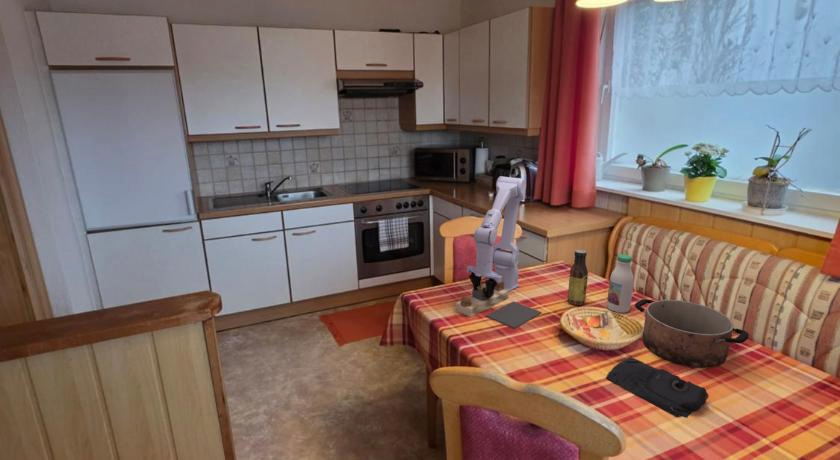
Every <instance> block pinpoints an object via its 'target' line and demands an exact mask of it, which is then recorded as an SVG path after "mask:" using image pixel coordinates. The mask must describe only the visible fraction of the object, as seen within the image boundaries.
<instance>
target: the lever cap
mask: <svg viewBox="0 0 840 460" xmlns="http://www.w3.org/2000/svg"><path fill="white" fill-rule="evenodd" d="M471 292H472V294H471V296H472V297H474V298H476V299H479V300H481V301H482V300H485V299H487V289H486V284H485V282H484V283H482V284H480V286H477V288H474V287H473V288H472V291H471ZM493 295H494V291H493V294H492V296H493Z"/></svg>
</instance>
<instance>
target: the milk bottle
mask: <svg viewBox="0 0 840 460" xmlns="http://www.w3.org/2000/svg"><path fill="white" fill-rule="evenodd" d="M632 260H633V257H632V256H631V255H629V254H624V253H623V254H621V253H619V254H618V255H617V257H616V261H617V264H616V266H615V267H614V269H613V271H612V272H611V275H610V278H609V284H608V293H607V301H606V307H607V309H608V310H610V311H611V310H612V311H611V312H614V311H615V312H614V313H621V314H625V313H628V312H630V310H631V305H632V297H633V290H634V274H633V271H632V267H631V264H632Z"/></svg>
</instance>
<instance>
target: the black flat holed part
mask: <svg viewBox="0 0 840 460" xmlns="http://www.w3.org/2000/svg"><path fill="white" fill-rule="evenodd" d="M605 379H606V380H607V381H609V382H610V383H612V384H614V385H616V386H619V387H620V388H621V389H623V390H625V391H627V392H629V393H630V394H632V395H634V396H636V397H638V398H640V399H642V400H644V401H645V402H647V403H648V404H650V405H653V406H655V407H657V408H659V409H660V410H662V411H665V413H668V414H670V415H672V416H673V417H675V418H679V417H683V418H685V419H688V418H689V416H690V415H691V414H693V413H695V412H698V411H699V410H701V409H702V407H703V406H704V405H705V404H706V401H707V397H708V396H709V394H708V392H707V389H706V388H705V387H703V386H700V385H697V384H695V383H693V382H691V381H686V380H684V379H681V378H680V376H678V375H676V374H673V373H672V372H669V371H668V370H665V369H663V368H660V369H659V368H656V367H654V366H652V365H649V364H647V363H644V362H643V361H641V360H640V359H636V358H634V357H631V356H630V357H627V358H625V359H623V360H622V361H620V362H618V363H617V364H616V365H614V366H613V367H612V368H611V370H610V371H608V373H607V376H606V377H605Z"/></svg>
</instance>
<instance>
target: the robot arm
mask: <svg viewBox="0 0 840 460" xmlns="http://www.w3.org/2000/svg"><path fill="white" fill-rule="evenodd" d="M495 183H496V184H495V186H496V187H495V188H496V189H495V190H496V196H495V199H494V201H493V204H492V206H491V207H492V208H491V209H488V210H487V212H486V213H485V215H484V218H483V220H482V222H481V224H480V226H479V227H477V228H476V229H475V231H474V236H473V240H474V243H475V244H474V245H475V246H474V247H475V248H476V258H475V259H476V263H475V265H476V266H473V265H468V266H467V267H466V272H467V273H470V274H469V275H468V278H469V279H470V282H471V284H472V287H473V289H474V288H477V286H480V285H482V284H481V282H482V277H484V278H486V280H484V283H485V284H486V289H487V298H490V297H492V294H493V291H494V288H495V286H496V285H497V283H499V282H501V281H503V282H504V289H505V290H508V291H509V292H510V291H512V290H514V289H516V288H519V287H520V284H518V283H519V282H518V281H519V268H518V264H519V262H520V248H519V247H518V246H517V245H516V244H515V243H514V240H515V233H516V227H517V221H518V214H519V207H520V202H521V201H523V200H524V199H525V195H526V187H527V184H526V183H527V182H526V180H525V178H523V177H520V178H519V177H508V176H503V175H501V176H499V177H498V178H497V179H496V182H495ZM504 208H505V209H504ZM503 210H504V217H503V216H502V212H503ZM502 219H503V221H502ZM501 221H502V222H503V223H502V229H501V237H500V241H499V242H497V243H496V241H497V236H498V229H499V226H500V223H501ZM495 243H496V244H495ZM493 267H495V268H494V271H493Z"/></svg>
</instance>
